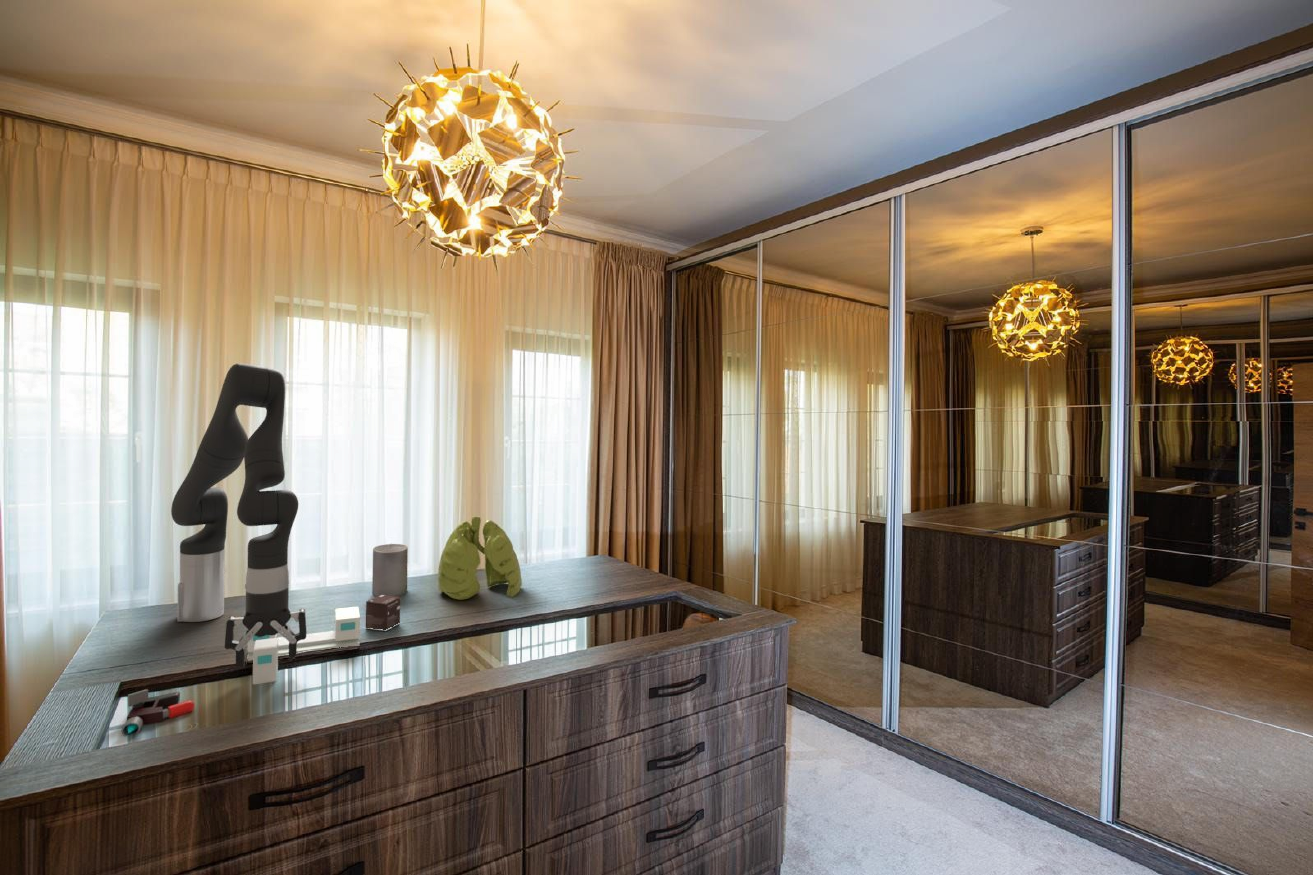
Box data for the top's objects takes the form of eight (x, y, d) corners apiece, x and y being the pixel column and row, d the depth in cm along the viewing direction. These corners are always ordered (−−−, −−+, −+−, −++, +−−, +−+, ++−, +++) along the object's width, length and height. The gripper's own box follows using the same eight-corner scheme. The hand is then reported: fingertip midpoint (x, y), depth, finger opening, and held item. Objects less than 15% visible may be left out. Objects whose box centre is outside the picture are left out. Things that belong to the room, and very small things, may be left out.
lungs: (438, 603, 177) (440, 521, 176) (436, 587, 191) (438, 511, 190) (525, 597, 186) (528, 519, 185) (517, 582, 201) (520, 509, 199)
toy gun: (115, 742, 103) (115, 714, 103) (134, 709, 114) (134, 683, 113) (187, 730, 108) (187, 703, 107) (199, 699, 118) (199, 674, 118)
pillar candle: (385, 586, 190) (386, 538, 189) (413, 589, 188) (414, 541, 187) (364, 596, 181) (365, 545, 179) (394, 599, 179) (394, 549, 177)
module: (252, 685, 124) (253, 651, 124) (255, 672, 130) (256, 640, 129) (275, 682, 126) (276, 648, 126) (277, 669, 131) (278, 637, 131)
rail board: (246, 664, 133) (247, 631, 133) (251, 646, 142) (252, 616, 141) (359, 649, 143) (360, 618, 143) (357, 634, 152) (358, 605, 152)
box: (385, 632, 154) (386, 604, 154) (364, 629, 155) (365, 601, 155) (400, 624, 160) (401, 596, 160) (379, 621, 161) (380, 594, 161)
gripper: (307, 578, 133) (306, 651, 134) (228, 585, 127) (227, 661, 128) (306, 588, 127) (305, 664, 128) (223, 595, 120) (222, 676, 121)
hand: (266, 663), depth 128 cm, fingers open, 8 cm apart
